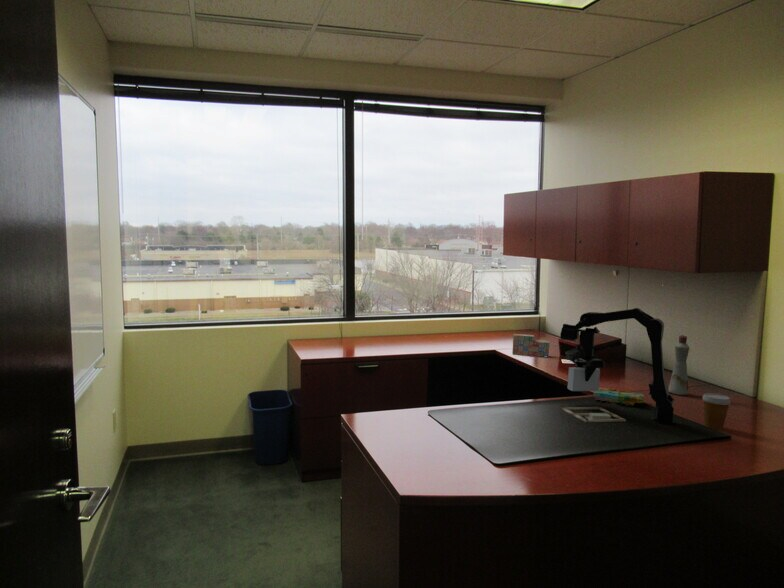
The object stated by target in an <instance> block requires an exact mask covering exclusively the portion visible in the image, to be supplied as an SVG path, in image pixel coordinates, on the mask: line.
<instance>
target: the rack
mask: <svg viewBox="0 0 784 588" xmlns="http://www.w3.org/2000/svg"><path fill="white" fill-rule="evenodd" d="M561 410H562V411H564V412H566V413H568V414H570V415H571V416H573V417H575V418H577V419H579V420H581V421H583V422H584V423H614V422H616V423H618V422H627V419H626V418H624V417H621V416H619V415H617V414H615V413H614V412H611V411H609V410H607V409H605V408H603V407H601V406H584V407H583V406H582V407H581V406H578V407H577V406H576V407H573V406H572V407H571V406H570V407H561ZM573 410H574V411H576V410H578V411H580V410H581V411H583V410H599V411H601V412H602V413H603V414H609V415H610V416H611V417H614V418H612V419H599V420H589V419H587V418H585V417H584V416H589V413H590V412H583V413H580V412H579V413H576V412H573Z"/></svg>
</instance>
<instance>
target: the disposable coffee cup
mask: <svg viewBox="0 0 784 588" xmlns="http://www.w3.org/2000/svg"><path fill="white" fill-rule="evenodd" d="M701 398H702V401H703V402H702V405H703V421H704V422H703V425H704V426H706V427H705V428H708V429H711V428H712V429H713V430H718V431H719V430H723V429H724V427H725V426H724V425H725V423H726V418H727V414H728V410H729V407H730V406H729V405H730V404H731V400H730V397H729V396H727V395H723V394H720V393H713V392H712V393H708V392H707V393H703V395H702V397H701Z"/></svg>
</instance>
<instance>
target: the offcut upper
mask: <svg viewBox="0 0 784 588" xmlns="http://www.w3.org/2000/svg"><path fill="white" fill-rule="evenodd" d="M588 413H589V417H590V418H591V419H596V420H599V419H611V418H612V415H609V414H603V413H604V412H588Z"/></svg>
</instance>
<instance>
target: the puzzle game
mask: <svg viewBox="0 0 784 588" xmlns="http://www.w3.org/2000/svg"><path fill="white" fill-rule="evenodd" d="M592 396H593V398H594V400H595V401H596V400H601V401H600V402H602V401H609V402H617V403H624V404H631V405H633V406H635V403H636V404H643V403H644V399H645V398H644V397H645V394H644V393H641V392H640V393H639V392H633V391H627V390H621V389H616V388H613V387H612V388H605V387H601V386H599V391H593V394H592Z"/></svg>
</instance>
